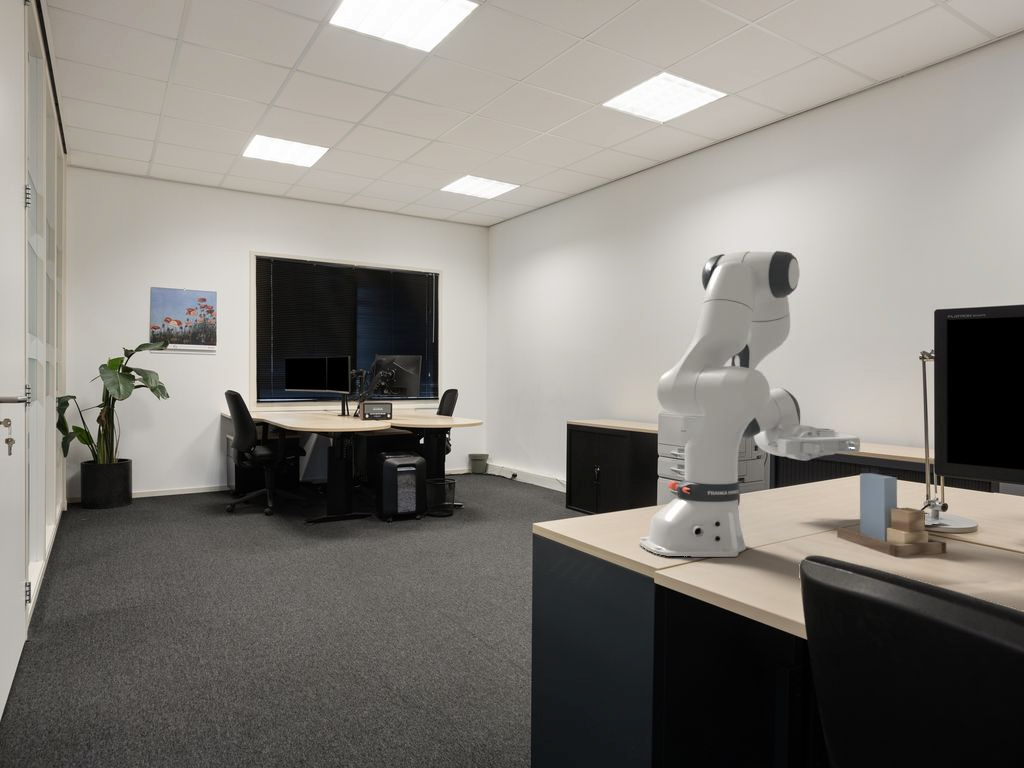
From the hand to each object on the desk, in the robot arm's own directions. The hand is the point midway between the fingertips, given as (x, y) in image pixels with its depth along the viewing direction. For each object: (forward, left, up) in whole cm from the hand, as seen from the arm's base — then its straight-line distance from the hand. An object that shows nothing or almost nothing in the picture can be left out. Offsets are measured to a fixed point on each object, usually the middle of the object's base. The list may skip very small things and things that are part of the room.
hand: (839, 448), depth 149 cm
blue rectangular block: (0, -12, -19) cm, 22 cm away
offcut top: (+1, -19, -15) cm, 24 cm away
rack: (0, -15, -20) cm, 25 cm away
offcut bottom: (0, -20, -19) cm, 27 cm away
